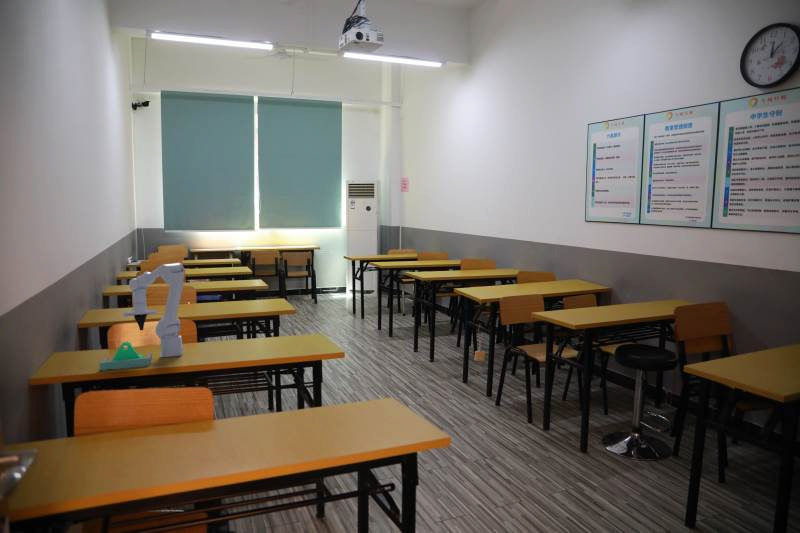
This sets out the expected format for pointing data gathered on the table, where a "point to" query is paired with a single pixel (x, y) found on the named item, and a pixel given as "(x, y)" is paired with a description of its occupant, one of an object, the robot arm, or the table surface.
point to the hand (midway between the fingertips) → (141, 329)
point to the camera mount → (126, 352)
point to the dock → (125, 363)
